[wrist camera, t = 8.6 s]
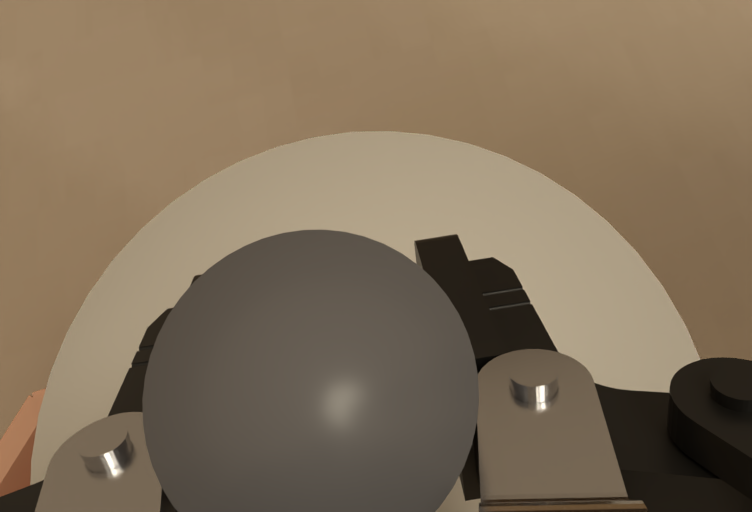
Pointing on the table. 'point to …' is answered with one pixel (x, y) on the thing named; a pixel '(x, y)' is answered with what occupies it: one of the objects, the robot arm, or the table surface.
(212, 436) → the lid
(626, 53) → the table surface
